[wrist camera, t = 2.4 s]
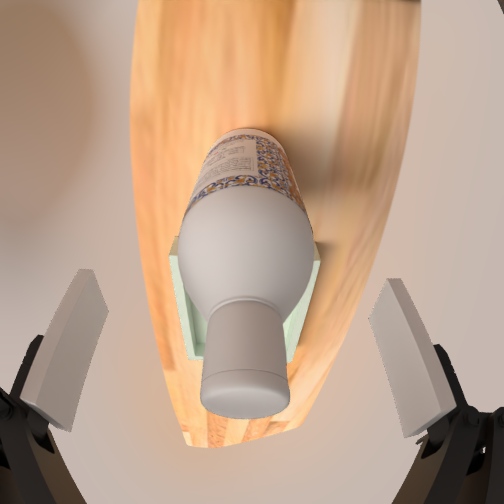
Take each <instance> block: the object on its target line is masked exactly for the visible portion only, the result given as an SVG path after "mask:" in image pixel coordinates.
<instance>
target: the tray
mask: <svg viewBox="0 0 504 504" xmlns="http://www.w3.org/2000/svg"><path fill="white" fill-rule="evenodd" d="M178 238H179V237H175V238H174V241H173V244H172V247H171V250H170V253H169V260H170V267H171V273H172V279H173V285H174V291H175V296H176V302H177V307H178V313H179V318H180V323H181V328H182V333H183V337H184V342H185V347H186V351H187V356H188V359H190V360H204V351H205V342H206V333H207V327H208V323H207V322H206V320H205V319H204V318H203V316H202V315H201V313H200V312H199V311H198V309H197V308H196V306H195V305H194V303H193V302H192V300H191V299H190V297H189V295H188V293H187V291H186V289H185V287H184V284H183V282H182V279H181V275H180V271H179V266H178ZM320 262H321V260H320V256H319V253H318V250H317V246H316V243H315V242H314V264H313V270H312V274H311V278H310V281H309V283H308V286H307V288H306V290H305V292H304V294H303V296H302V298H301V299H300V301H299V303H298V304H297V306H296V307H295V308H294V310H293V311H292V313H291V314H290V315H289V317H288V318H287V319H286V321H285V322H284V323H283V328H284V336H285V345H286V357H287V362H292V359H293V356H294V353H295V350H296V347H297V343H298V340H299V337H300V334H301V330H302V327H303V324H304V320H305V317H306V313H307V310H308V306H309V303H310V299H311V296H312V292H313V288H314V285H315V281H316V277H317V273H318V270H319V266H320Z"/></svg>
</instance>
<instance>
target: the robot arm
mask: <svg viewBox="0 0 504 504" xmlns="http://www.w3.org/2000/svg"><path fill="white" fill-rule="evenodd" d="M498 2H499V4H500V7H501V9H502V11H503V14H504V0H498ZM108 312H109V311H108V308H107V306H106V303H105V301H104V298H103V296H102V293H101V290H100V288H99V285H98V283H97V280H96V277H95V274H94V271H93V270H89V269H79V270H78V272H77V274H76V276H75V277H74V279H73V281H72V282H71V284H70V286H69V288H68V290H67V292H66V294H65V295H64V297H63V299H62V301H61V303H60V305H59V307H58V309H57V311H56V313H55V315H54V317H53V319H52V321H51V323H50V325H49V328H48V329H47V332H46V334H45V336H43V335H37V337H36V338H35V339H34V340H33V341H32V342H31V343H30V345H29V348H28V350H27V352H26V356H25V357H24V359H23V361H22V362H23V363H22V364H21V366H20V369H19V371H18V374H17V376H16V379H15V381H14V384H13V387H12V389H11V392H10V394H9V395H8V394H7V393H6V392H5V391H4V390H3V389H2V388H1V387H0V504H87V503H86V502H85V500H84V498H83V497H82V495H81V493H80V491H79V489H78V488H77V486H76V484H75V482H74V480H73V479H72V477H71V475H70V473H69V471H68V469H67V467H66V465H65V463H64V461H63V458H62V456H61V454H60V452H59V450H58V447H57V445H56V443H55V441H54V438H53V436H52V433H51V431H50V430H49V428H48V425H49V423H51V424H52V425H53V426H55V427H56V428H59V429H62V430H65V431H68V432H71V429H72V425H73V421H74V417H75V413H76V409H77V406H78V402H79V399H80V395H81V392H82V388H83V385H84V381H85V378H86V375H87V372H88V369H89V366H90V363H91V359H92V356H93V353H94V351H95V348H96V345H97V341H98V339H99V336H100V334H101V331H102V328H103V325H104V322H105V320H106V317H107V315H108ZM368 319H369V321H370V324H371V327H372V330H373V333H374V336H375V339H376V342H377V344H378V348H379V351H380V354H381V357H382V360H383V363H384V367H385V370H386V373H387V376H388V380H389V383H390V386H391V390H392V393H393V397H394V400H395V404H396V408H397V411H398V415H399V419H400V423H401V426H402V431H403V435H404V438H407V437H411V436H414V435H418V434H420V433H421V432H423V431H424V430H426V429H427V432H428V434H426V435H425V436H423V437H422V438H420V439H419V440H418V441H417V442H416V444H417V445H418V444H419V443H421V442H423V443H422V445H421V447H420V450H419V452H418V454H417V456H416V458H415V460H414V463H413V465H412V467H411V469H410V471H409V473H408V475H407V477H406V479H405V481H404V483H403V484H402V486H401V488H400V490H399V492H398V493H397V495H396V497H395V499H394V500H393V502H392V504H504V407H500V408H498V409H497V410H496V411H494V412H493V413H485V412H479V411H478V410H477V409H476V408H475V407H473V406H469V405H468V404H467V402H466V400H465V397H464V394H463V391H462V389H461V386H460V384H459V381H458V378H457V376H456V374H455V373H454V369H453V366H452V365H451V361H450V359H449V357H448V354H447V353H446V351H445V350H444V349H443V348H442V347H441V346H440V344H437V345H433V344H432V342H431V340H430V337H429V335H428V333H427V331H426V329H425V326H424V324H423V322H422V320H421V318H420V316H419V314H418V312H417V309H416V307H415V306H414V303H413V301H412V300H411V297H410V296H409V294H408V292H407V290H406V288H405V286H404V284H403V282H402V280H401V279H387V280H386V282H385V284H384V287H383V289H382V291H381V293H380V295H379V297H378V300H377V302H376V304H375V306H374V308H373V310H372V312H371V314H370V317H369V318H368ZM484 447H486V448H485V453H483V448H484Z"/></svg>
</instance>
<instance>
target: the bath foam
mask: <svg viewBox="0 0 504 504" xmlns="http://www.w3.org/2000/svg"><path fill="white" fill-rule="evenodd" d="M313 264H314V240H313V231H312V227H311V224H310V221H309V218H308V215H307V212H306V209H305V206H304V203H303V200H302V197H301V194H300V191H299V188H298V185H297V183H296V180H295V177H294V174H293V171H292V168H291V166H290V163H289V160H288V158H287V155H286V153H285V151H284V149H283V147H282V146H281V144H280V143H279V142H278V141H277V140H276V139H275V138H274V137H272V136H271V135H269V134H268V133H266V132H263V131H260V130H257V129H237V130H233V131H230V132H228V133H226V134H224V135H223V136H221V137H220V138H219V139H218V140H217V141H216V142H215V143H214V144H213V145H212V147H211V148H210V150H209V152H208V154H207V156H206V159H205V161H204V163H203V166H202V169H201V171H200V174H199V176H198V179H197V182H196V184H195V187H194V190H193V193H192V195H191V198H190V201H189V204H188V206H187V209H186V212H185V215H184V218H183V222H182V225H181V229H180V233H179V238H178V266H179V271H180V275H181V279H182V282H183V284H184V287H185V289H186V291H187V293H188V295H189V297H190V299H191V300H192V302H193V303H194V305H195V306H196V308H197V309H198V311H199V312H200V313H201V315H202V316H203V318H204V319H205V320H206V322H207V323H208V327H207V333H206V342H205V351H204V360H203V370H202V381H201V392H200V399H201V403H202V405H203V406H204V407H205V408H206V409H207V410H208V411H210V412H212V413H214V414H216V415H219V416H223V417H227V418H234V419H258V418H264V417H269V416H272V415H275V414H277V413H280V412H281V411H283V410H284V409H285V408H286V407H287V406H288V405H289V402H290V389H289V386H288V380H287V369H286V366H287V357H286V345H285V336H284V328H283V323H284V322H285V321H286V319H287V318H288V317H289V315H290V314H291V313H292V311H293V310H294V308H295V307H296V306H297V304H298V303H299V301H300V299H301V298H302V296H303V294H304V292H305V290H306V288H307V286H308V283H309V281H310V278H311V274H312V270H313Z"/></svg>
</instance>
